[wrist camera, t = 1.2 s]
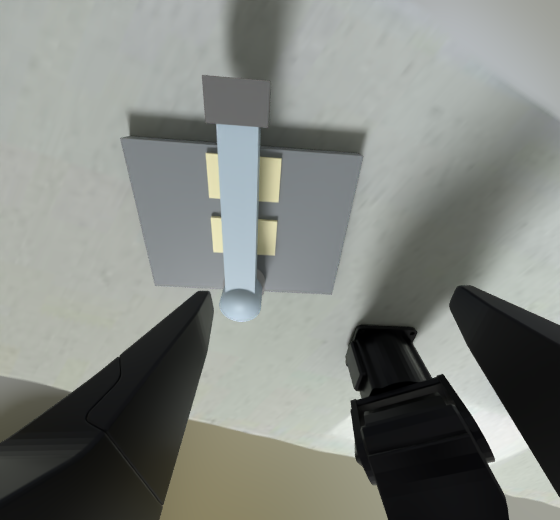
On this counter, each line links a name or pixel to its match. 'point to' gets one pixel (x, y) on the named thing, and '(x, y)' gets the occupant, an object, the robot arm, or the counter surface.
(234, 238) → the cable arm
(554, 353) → the robot arm
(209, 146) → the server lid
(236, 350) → the counter surface
